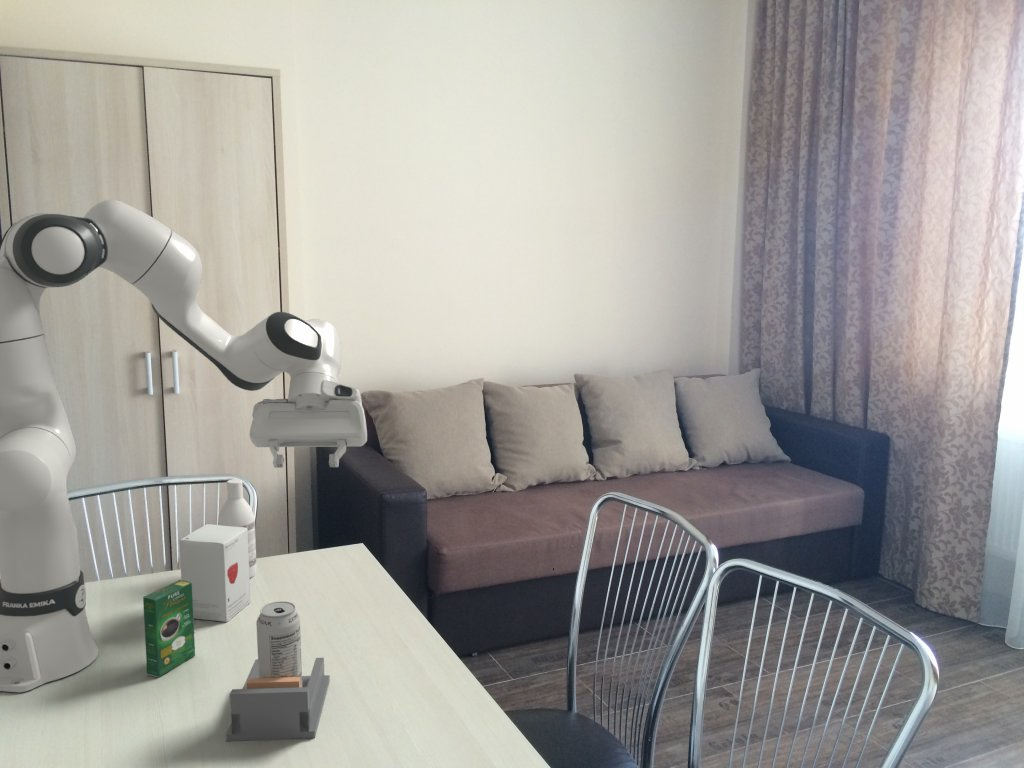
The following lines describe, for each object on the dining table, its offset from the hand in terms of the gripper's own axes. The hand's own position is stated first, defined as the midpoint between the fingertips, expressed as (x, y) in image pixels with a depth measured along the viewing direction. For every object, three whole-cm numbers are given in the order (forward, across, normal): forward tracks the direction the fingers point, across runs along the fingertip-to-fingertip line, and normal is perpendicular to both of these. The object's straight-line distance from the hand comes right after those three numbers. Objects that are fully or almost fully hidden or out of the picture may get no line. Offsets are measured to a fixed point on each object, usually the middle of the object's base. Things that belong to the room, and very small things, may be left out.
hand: (305, 465), depth 145 cm
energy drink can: (+40, 0, 0) cm, 40 cm away
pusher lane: (+40, 0, +1) cm, 40 cm away
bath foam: (+5, -18, +37) cm, 41 cm away
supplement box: (+16, -18, +26) cm, 35 cm away
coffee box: (+30, -20, +11) cm, 38 cm away
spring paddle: (+42, 0, -2) cm, 42 cm away
